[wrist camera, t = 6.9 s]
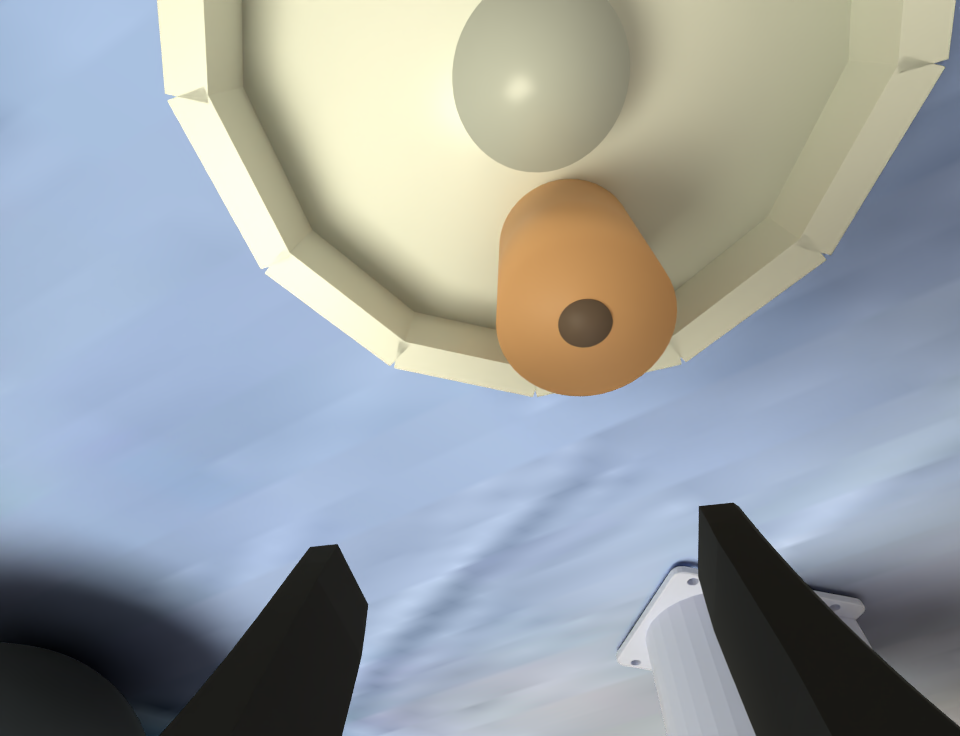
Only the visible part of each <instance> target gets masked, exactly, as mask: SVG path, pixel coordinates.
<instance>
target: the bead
mask: <svg viewBox="0 0 960 736" xmlns="http://www.w3.org/2000/svg"><path fill="white" fill-rule="evenodd" d="M676 318H677V300H676V296H675V291H674V288H673V285H672V283H671V280H670V278H669V277H668V275H667V273H666V272H665V270H664V268H663V267H662V265H661V264H660V262H659V261H658V259H657V258H656V256H655V255H654V253H653V251H652V250H651V248H650V247H649V245H648V244H647V242H646V241H645V239H644V238H643V236H642V235H641V233H640V232H639V230H638V228H637V227H636V225H635V224H634V222H633V221H632V219H631V218H630V216H629V215H628V213H627V212H626V210H625V208H624V207H623V205H622V204H621V203H620V202H619V200H618V199H617V198H616V197H615V196H614V195H613V194H612V193H611V192H609V191H608V190H606V189H605V188H603V187H601V186H599V185H597V184H595V183H592V182H589V181H585V180H579V179H562V180H556V181H552V182H548V183H546V184H543V185H540V186H539V187H537V188H535V189H533V190H531V191H530V192H529V193H527V194H526V195H525V196H523V197H522V198H521V199H520V200H519V201H518V202H517V203H516V205H515V206H514V207H513V208H512V210H511V211H510V213H509V214H508V216H507V218H506V220H505V222H504V224H503V228H502V231H501V235H500V241H499V265H498V288H497V311H496V330H497V337H498V341H499V345H500V347H501V349H502V352H503V354H504V356H505V357H506V359H507V361H508V362H509V364H510V365H511V366H512V367H513V369H514V370H515V371H516V372H517V373H518V374H519V375H521V376H522V377H523V378H524V379H526V380H527V381H528V382H530V383H532V384H533V385H535V386H537V387H539V388H541V389H544V390H546V391H549V392H553V393H556V394H561V395H568V396H591V395H597V394H603V393H606V392H610V391H613V390H616V389H618V388H621V387H623V386H625V385H627V384H629V383H631V382H633V381H634V380H636V379H637V378H639V377H640V376H642V375H643V374H644V373H645V372H646V371H648V370H649V369H650V368H651V367H652V366H653V365H654V364H655V363H656V362H657V361H658V359H659V358H660V357H661V355H662V354H663V353H664V351H665V349H666V348H667V346H668V344H669V342H670V340H671V337H672V335H673V332H674V328H675V324H676Z"/></svg>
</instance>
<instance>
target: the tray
mask: <svg viewBox="0 0 960 736" xmlns="http://www.w3.org/2000/svg"><path fill="white" fill-rule="evenodd" d="M955 3H956V0H157V5H158V16H159V28H160V39H161V51H162V63H163V74H164V86H165V94H169V95H173V96H178V97H175V98H173V99H170V100H168V102H169V104H170V106H171V108H172V110H173V111H174V113H175V115H176V117H177V119H178V120H179V122H180V124H181V126H182V128H183V129H184V131H185V133H186V135H187V137H188V138H189V140H190V142H191V144H192V146H193V147H194V149H195V151H196V153H197V155H198V156H199V158H200V160H201V162H202V164H203V165H204V167H205V169H206V171H207V173H208V174H209V176H210V178H211V180H212V182H213V183H214V185H215V187H216V189H217V191H218V192H219V194H220V196H221V198H222V200H223V201H224V203H225V205H226V207H227V209H228V210H229V212H230V214H231V216H232V217H233V219H234V221H235V223H236V225H237V226H238V228H239V230H240V232H241V234H242V235H243V237H244V239H245V241H246V243H247V244H248V246H249V248H250V250H251V252H252V253H253V255H254V257H255V259H256V261H257V262H258V264H259V266H260V268H261V269H262V268H265V267H269V266H270V267H269V268H268V270H267V271H266V272H265V274H267V275H268V276H269V277H271V278H272V279H273V280H275V281H276V282H277V283H279V284H280V285H281V286H283V287H284V288H286V289H287V290H288V291H290V292H291V293H292V294H294V295H295V296H296V297H298V298H299V299H300V300H302V301H303V302H304V303H306V304H307V305H308V306H310V307H311V308H312V309H314V310H315V311H316V312H318V313H319V314H320V315H322V316H323V317H324V318H326V319H327V320H329V321H330V322H331V323H333V324H334V325H335V326H337V327H338V328H339V329H341V330H342V331H343V332H345V333H346V334H347V335H349V336H350V337H351V338H353V339H354V340H355V341H357V342H358V343H359V344H361V345H362V346H363V347H365V348H366V349H368V350H369V351H370V352H372V353H373V354H374V355H376V356H377V357H378V358H380V359H381V360H382V361H384V362H385V363H386V364H388V365H389V366H390V365H391V364H392V363H393V362H394V361H395V367H394V368H396V369H401V370H406V371H411V372H415V373H420V374H425V375H430V376H435V377H439V378H444V379H449V380H454V381H459V382H463V383H468V384H473V385H478V386H483V387H487V388H492V389H497V390H502V391H506V392H511V393H516V394H521V395H526V396H530V397H533V394H534V392H535V391H536V394H537V397H539V396H544V395H548V394H553V392H549V391H546V390H544V389H541V388H539V387H537V386H535V385H533V384H532V383H530V382H528V381H527V380H526V379H524V378H523V377H522V376H521V375H519V374H518V373H517V372H516V371H515V370H514V369H513V367H512V366H511V365H510V364H509V362H508V361H507V359H506V357H505V356H504V354H503V352H502V349H501V347H500V345H499V341H498V337H497V330H496V311H497V288H498V265H499V241H500V235H501V231H502V228H503V224H504V222H505V220H506V218H507V216H508V214H509V213H510V211H511V210H512V208H513V207H514V206H515V205H516V203H517V202H518V201H519V200H520V199H521V198H522V197H523V196H525V195H526V194H527V193H529V192H530V191H531V190H533V189H535V188H537V187H539V186H540V185H543V184H546V183H548V182H552V181H556V180H562V179H579V180H585V181H589V182H592V183H595V184H597V185H599V186H601V187H603V188H605V189H606V190H608V191H609V192H611V193H612V194H613V195H614V196H615V197H616V198H617V199H618V200H619V202H620V203H621V204H622V205H623V207H624V208H625V210H626V212H627V213H628V215H629V216H630V218H631V219H632V221H633V222H634V224H635V225H636V227H637V228H638V230H639V232H640V233H641V235H642V236H643V238H644V239H645V241H646V242H647V244H648V245H649V247H650V248H651V250H652V251H653V253H654V255H655V256H656V258H657V259H658V261H659V262H660V264H661V265H662V267H663V268H664V270H665V272H666V273H667V275H668V277H669V278H670V280H671V283H672V285H673V288H674V291H675V296H676V300H677V318H676V324H675V328H674V332H673V335H672V337H671V340H670V342H669V344H668V346H667V348H666V349H665V351H664V353H663V354H662V355H661V357H660V358H659V359H658V361H657V362H656V363H655V364H654V365H653V366H652V367H651V368H650V369H649V370H648V371H646V372H650V371H654V370H659V369H663V368H668V367H672V366H676V365H681V359H680V357H681V358H682V359H683V360H684V361H685V362H687V361H688V360H690V359H691V358H693V357H694V356H695V355H697V354H698V353H699V352H701V351H702V350H704V349H705V348H706V347H708V346H709V345H710V344H712V343H713V342H715V341H716V340H717V339H719V338H720V337H721V336H723V335H724V334H726V333H727V332H728V331H730V330H731V329H732V328H734V327H735V326H736V325H738V324H739V323H741V322H742V321H743V320H745V319H746V318H747V317H749V316H750V315H752V314H753V313H754V312H756V311H757V310H758V309H760V308H761V307H763V306H764V305H765V304H767V303H768V302H769V301H771V300H772V299H774V298H775V297H776V296H778V295H779V294H780V293H782V292H783V291H785V290H786V289H787V288H789V287H790V286H791V285H793V284H794V283H795V282H797V281H798V280H800V279H801V278H802V277H804V276H805V275H806V274H808V273H809V272H811V271H812V270H813V269H815V268H816V267H817V266H819V265H820V264H822V263H823V262H824V261H826V259H825V257H824V256H823V255H822V254H821V253H824V254H828V255H831V254H832V253H833V251H834V249H835V248H836V246H837V244H838V243H839V241H840V239H841V238H842V236H843V234H844V233H845V231H846V230H847V228H848V226H849V225H850V223H851V221H852V220H853V218H854V216H855V215H856V213H857V211H858V210H859V208H860V207H861V205H862V203H863V202H864V200H865V198H866V197H867V195H868V193H869V192H870V190H871V188H872V187H873V185H874V184H875V182H876V180H877V179H878V177H879V175H880V174H881V172H882V170H883V169H884V167H885V165H886V164H887V162H888V161H889V159H890V157H891V156H892V154H893V152H894V151H895V149H896V147H897V146H898V144H899V142H900V141H901V139H902V137H903V136H904V134H905V133H906V131H907V129H908V128H909V126H910V124H911V123H912V121H913V119H914V118H915V116H916V114H917V113H918V111H919V110H920V108H921V106H922V105H923V103H924V101H925V100H926V98H927V96H928V95H929V93H930V91H931V90H932V88H933V87H934V85H935V83H936V82H937V80H938V78H939V77H940V75H941V73H942V72H943V70H944V68H945V67H944V66H940V65H937V64H933V63H937V62H940V61H943V60H947V59H948V58H949V50H950V42H951V34H952V26H953V18H954V11H955Z"/></svg>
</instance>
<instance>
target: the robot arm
mask: <svg viewBox="0 0 960 736" xmlns="http://www.w3.org/2000/svg"><path fill="white" fill-rule="evenodd" d="M367 610H368V603H367V601H366V599H365V598H364V596H363V594H362V592H361V590H360V588H359V586H358V584H357V582H356V580H355V578H354V576H353V574H352V572H351V570H350V568H349V566H348V564H347V562H346V560H345V558H344V556H343V554H342V552H341V550H340V548H339V546H338V544H335V545H325V546H316V547H310V548H309V549H308V551H307V552H306V553H305V554H304V556H303V557H302V558H301V560H300V561H299V562H298V564H297V565H296V566H295V568H294V569H293V570H292V572H291V573H290V574H289V576H288V577H287V578H286V580H285V581H284V582H283V584H282V585H281V586H280V588H279V589H278V590H277V592H276V593H275V594H274V596H273V597H272V598H271V600H270V601H269V602H268V604H267V605H266V606H265V608H264V609H263V610H262V612H261V613H260V614H259V616H258V617H257V618H256V620H255V621H254V622H253V623H252V625H251V626H250V627H249V629H248V630H247V631H246V632H245V634H244V635H243V636H242V638H241V639H240V640H239V642H238V643H237V644H236V645H235V647H234V648H233V649H232V651H231V652H230V653H229V654H228V656H227V657H226V658H225V659H224V661H223V662H222V663H221V664H220V665H219V667H218V668H217V669H216V670H215V671H214V673H213V674H212V675H211V676H210V677H209V679H208V680H207V681H206V682H205V684H204V685H203V686H202V687H201V688H200V690H199V691H198V692H197V693H196V694H195V696H194V697H193V698H192V699H191V700H190V702H189V703H188V704H187V705H186V706H185V707H184V708H183V710H182V711H181V712H180V713H179V714H178V715H177V716H176V718H175V719H174V720H173V721H172V722H171V723H170V724H169V725H168V726H167V728H166V729H165V730H164V731H163V732H162V733H161V734H160V735H159V736H342V733H343V729H344V725H345V721H346V717H347V713H348V709H349V705H350V701H351V697H352V693H353V689H354V685H355V681H356V677H357V673H358V669H359V665H360V660H361V656H362V649H363V642H364V635H365V627H366V618H367ZM864 611H865V607H864V605H863V603H862V602H861V601H860V600H859V599H857V598H852V597H847V596H841V595H836V594H830V593H825V592H820V591H814V590H812V589H811V588H810V587H809V586H808V585H807V584H806V583H805V582H804V581H803V580H802V579H801V577H800V576H799V575H798V574H797V573H796V572H795V571H794V570H793V569H792V568H791V567H790V566H789V564H788V563H787V562H786V561H785V560H784V559H783V558H782V557H781V556H780V554H779V553H778V552H777V551H776V550H775V549H774V548H773V547H772V545H771V544H770V543H769V542H768V541H767V540H766V539H765V537H764V536H763V535H762V534H761V533H760V532H759V530H758V529H757V528H756V527H755V526H754V524H753V523H752V522H751V521H750V520H749V518H748V517H747V516H746V515H745V514H744V512H743V511H742V510H741V509H740V507H739V506H737V505H736V504H734V503H725V504H716V505H706V506H699V542H698V569H696V568H691V567H686V566H678V567H675V568H673V569H672V570H671V571H670V573H669V574H668V576H667V577H666V579H665V580H664V582H663V583H662V585H661V586H660V588H659V589H658V591H657V592H656V594H655V595H654V597H653V598H652V600H651V601H650V603H649V604H648V606H647V608H646V609H645V611H644V612H643V614H642V615H641V617H640V618H639V620H638V621H637V623H636V624H635V626H634V627H633V629H632V630H631V632H630V633H629V635H628V636H627V638H626V639H625V641H624V642H623V644H622V645H621V647H620V648H619V650H618V651H617V653H616V658H617V662H618V663H619V664H620V665H623V666H629V667H635V668H641V669H647V670H652V672H653V677H654V681H655V685H656V690H657V694H658V699H659V703H660V707H661V712H662V716H663V721H664V725H665V730H666V734H667V736H960V727H959V726H958V725H957V724H956V723H955V722H953V721H952V720H951V719H950V718H949V717H948V716H946V715H945V714H944V713H943V712H942V711H941V710H939V709H938V708H937V707H936V706H935V705H934V704H932V703H931V702H930V701H929V700H928V699H927V698H925V697H924V696H923V695H922V694H921V693H920V692H918V691H917V690H916V689H915V688H914V687H913V686H912V685H911V684H909V683H908V682H907V681H906V680H905V679H904V678H903V677H902V676H901V675H899V674H898V673H897V672H896V671H895V670H894V669H893V668H892V667H891V666H890V665H889V664H887V663H886V662H885V661H884V660H883V659H882V658H881V657H880V656H879V655H878V654H877V653H876V652H875V651H874V650H873V649H872V647H871V645H870V643H869V642H868V640H867V638H866V637H865V635H864V633H863V632H862V630H861V628H860V626H859V625H858V623H857V621H856V619H857V618H858V617H859V616H860V615H861V614H862V613H863V612H864Z"/></svg>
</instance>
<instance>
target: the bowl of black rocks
mask: <svg viewBox="0 0 960 736" xmlns="http://www.w3.org/2000/svg"><path fill="white" fill-rule="evenodd" d="M0 736H146V734H145V732H144V730H143V728H142V725H141V723H140V721H139V719H138V717H137V715H136V714H135V712H134V711H133V709H132V707H131V706H130V704H129V703H128V701H127V700H126V699H125V698H124V696H123V695H122V694H121V693H120V692H119V691H118V690H117V689H116V688H115V687H114V685H113V684H112V683H110V682H109V681H108V680H107V679H106V678H104V677H103V676H102V675H100V674H99V673H98V672H96V671H95V670H93V669H92V668H90V667H89V666H87V665H85V664H84V663H82V662H80V661H78V660H76V659H73V658H71V657H69V656H66V655H64V654H61V653H58V652H55V651H52V650H48V649H44V648H40V647H35V646H29V645H22V644H14V643H3V642H0Z"/></svg>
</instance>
